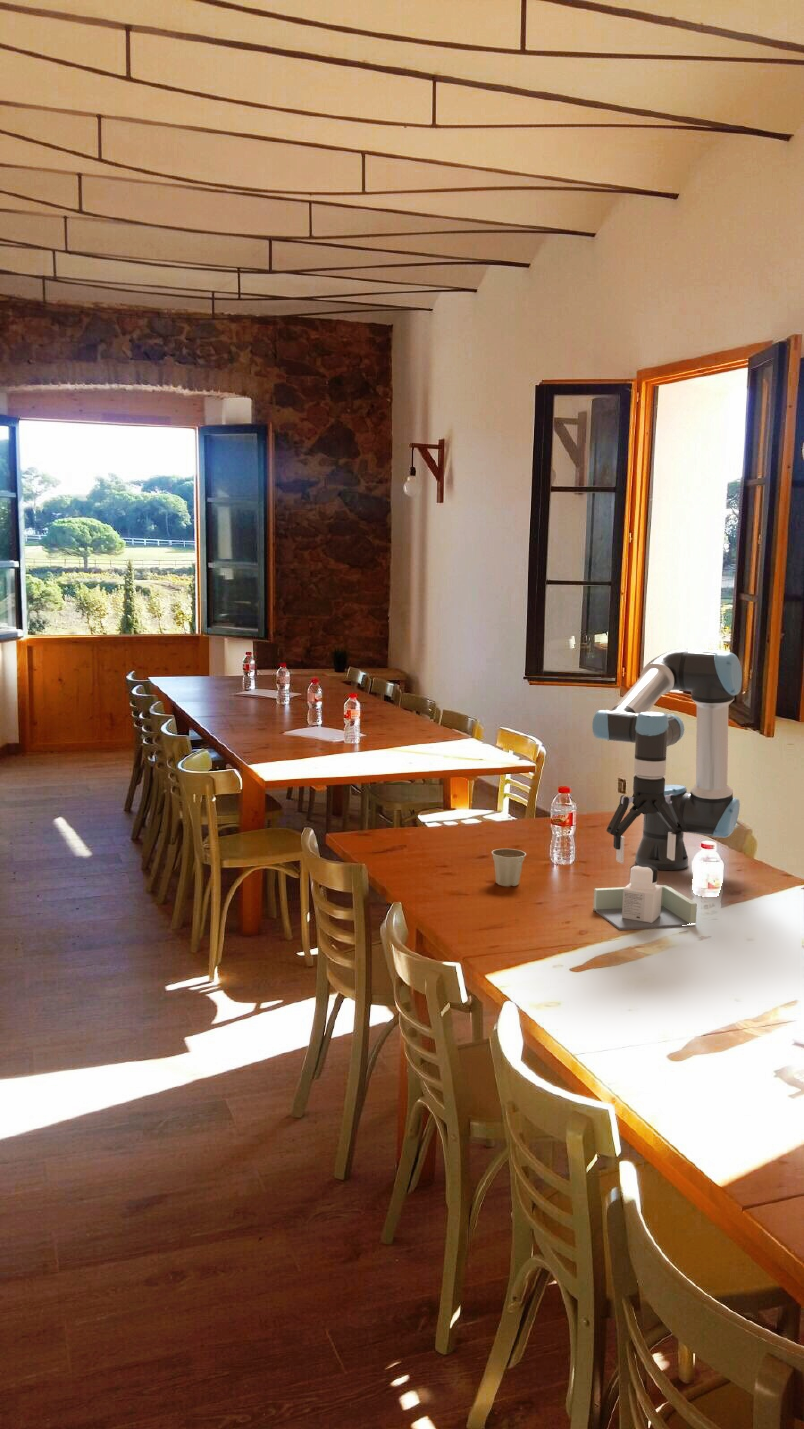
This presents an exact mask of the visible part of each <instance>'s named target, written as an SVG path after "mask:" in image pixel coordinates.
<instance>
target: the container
mask: <svg viewBox="0 0 804 1429" xmlns="http://www.w3.org/2000/svg"><path fill="white" fill-rule="evenodd" d="M629 871H630V872H629V883H628V884H627V885H626V886H624V887H625V888H624V889H623V906H622V918H625V919H631V920H636V921H642V922H648V923H652V922H654V921H655V920H656V919H657V918H658V917H659V916H660V913H661V896H662V886H661V884H657V883H658V869H656V867H654V866H652V865H648V864H637V863H635V864H633V865H631V866H630V868H629Z"/></svg>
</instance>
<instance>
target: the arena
mask: <svg viewBox="0 0 804 1429" xmlns="http://www.w3.org/2000/svg"><path fill="white" fill-rule="evenodd" d="M660 885H661V884H660ZM661 886H662V896H661V913H660V916H659V917H658V918H657V919H656V920H655V921H654V922H652V923H648V922H642V921H636V920H631V919H625V918H622V906H623V889H624V888H625V887H626V886H623V887H622V886H621V887H601V888H600V887H599V888H594V889H593V908H592V909H593V911H594V912H595V911H596V912H595V913H596V914H598V915H599V916H600V917H602V918H603V919H604V920H606V921H607V922H608V921H609V923H610V924H611V925H612V926H614V927H615V928H616V929H618V930H619V931H628V930H629V931H630V930H648V929H649V930H650V929H667V928H677V927H676V926H682V925H687V924H689V923H690V924H691V923H696V924H697V909H698V908H697V907H698V904H697V902H695V901H694V900H692V899H690V898H688V897H687V896H685V895H684V894H682V893H680V892H679V891H677V890H676V889H674V888H672V887H671V886H669V885H668V884H666V885H665V884H664V885H661Z"/></svg>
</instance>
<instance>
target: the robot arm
mask: <svg viewBox="0 0 804 1429" xmlns="http://www.w3.org/2000/svg"><path fill="white" fill-rule="evenodd" d="M742 681H743V671H742V666H741V662H740V660H739V658H738V656H737V655H736V654H735V653H733V652H729V651H722V650H713V649H712V650H709V649H688V648H676V649H671V650H669V651H666V652H664V653H662V654H660V655H658V656H656V657H655V658H653V659H652V660H650V661H649V662H648V663H647V664H646V665H645V666H644V667H643V668H642V670H641V673H640V676H639V678H638V680H636V682H634V684H633V685H632V686H631V687H630V689H628V691H627V692H625V694H624V695H623V697H621V698H620V699H619V701H618V702H616V704H615V705H614V706H613V708H611V709H610V710H609V709H605V710H604V709H600V710H596V712H595V714H594V716H593V718H592V726H591V728H592V729H591V730H592V733H593V736H594V737H595V738H596V739H599V740H606V741H613V742H623V743H624V742H625V743H631V744H632V743H633V744H634V761H633V762H634V763H633V773H634V776H633V783H632V784H633V785H632V789H633V790H632V791H633V793H632V796H626V795H624V794H622V795H621V796H620V799H619V804H618V806H617V809H616V811H615V812H614V814H613V816H612V817H611V820H610V822H609V824H608V825H607V828H606V832H607V833H608V834H610V835H612V836H613V845H612V846H613V849H615V850H616V851H615V852H616V854H615V861H616V862H618V863H620V864H624V862H625V861H624V860H625V859H624V858H625V857H624V856H625V836H623V835H624V834H625V832H626V831H627V830H628V829H629V827H630V826H631V825H632V824H633V822H634V821H635V820H636V819H637V818H638V817H639V816H641V814H643V822H642V823H643V824H642V826H643V827H642V838H641V839H640V842H639V845H638V848H637V850H636V852H635V856H634V857H635V858H634V859H635V860H634V861H635V864H648V865H652V866H654V867H656V869H657V870H659V871H661V870H662V871H678V870H683V869H686V868H688V866H689V856H688V853H687V850H686V846H685V842H684V834H685V833H687V834H688V833H689V834H694V835H701V836H708V837H712V838H722V839H723V838H728V837H730V836H731V835H732V833H733V832H734V830H735V828H736V825H737V821H738V820H739V819H738V818H739V814H740V807H741V806H740V805H741V803H740V800H739V799H738V798H737V797H734V795H733V794H734V791H733V789H732V788H731V787H730V786H729V785H728V772H729V771H728V767H729V766H728V764H729V763H728V762H729V760H728V757H729V708H730V707H729V705H731V703H732V702H733V701H735V696H737V695H739V693H740V692H741V689H742V683H743V682H742ZM671 691H685V692H690V699H691V700H692V702H693V703H695V705H696V737H695V738H696V747H695V748H696V749H695V750H696V752H695V753H696V760H695V761H696V762H695V765H696V767H695V768H696V769H695V771H696V772H695V774H696V775H695V781H696V783H695V784H694V786H692V787H691V788H690V792H689V791H688V789H687V787H686V785H681V784H666V778H665V776H666V773H667V772H666V770H667V768H666V767H667V750H668V747H669V746H670V747H671V746H672V745H675V744H676V743H678V741H680V740H681V739H682V738H683V737H684V736H683V735H684V733H685V724H684V723H683V721H682V719H681V718H680V717H679V716H677V715H676V714H672V713H671V714H670V713H669V714H667V713H664V712H659V711H650V710H651V709H652V708H653V707H654V705H655V704H656V702H658V700H659V699H660V698H661V697H662V696H663V695H666V694H668V693H670V692H671ZM631 803H632V806H631V807H630V809H629V812H628V813H627V814H626V812H627V810H628V808H629V806H630V805H631Z"/></svg>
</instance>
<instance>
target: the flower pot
mask: <svg viewBox="0 0 804 1429" xmlns="http://www.w3.org/2000/svg"><path fill="white" fill-rule="evenodd" d="M491 855H492V859H493V863H494V873H495V883H496V884H497V885H498V886H502V887H511V886H512V887H516V886H518V885H519V883H520V878H521V874H522V868H523V862H524V861H525V857H527V853H526V852H524V851H523V850H519V849H513V848H498V849H494V850H492V851H491Z"/></svg>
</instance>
